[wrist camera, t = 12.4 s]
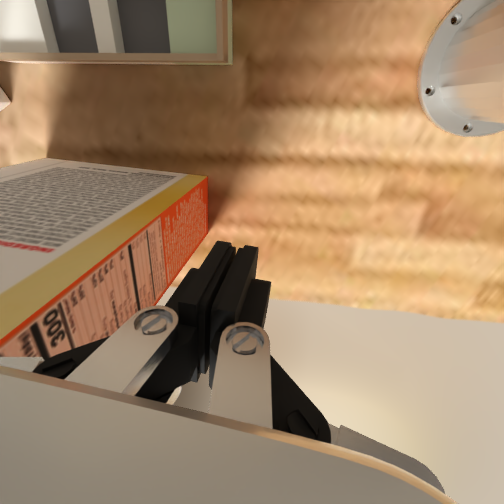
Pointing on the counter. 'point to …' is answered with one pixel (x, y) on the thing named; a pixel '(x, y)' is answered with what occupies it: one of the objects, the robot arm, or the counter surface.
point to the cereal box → (89, 248)
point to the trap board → (117, 31)
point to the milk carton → (3, 100)
